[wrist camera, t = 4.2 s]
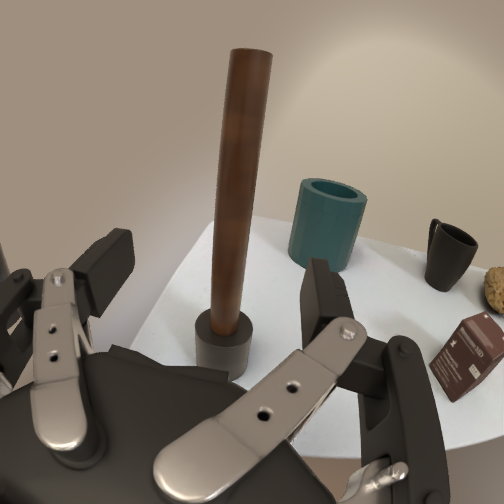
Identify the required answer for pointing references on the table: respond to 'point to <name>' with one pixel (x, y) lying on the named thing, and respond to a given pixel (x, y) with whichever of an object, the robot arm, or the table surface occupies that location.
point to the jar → (326, 222)
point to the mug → (448, 255)
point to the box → (469, 355)
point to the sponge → (495, 288)
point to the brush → (234, 213)
